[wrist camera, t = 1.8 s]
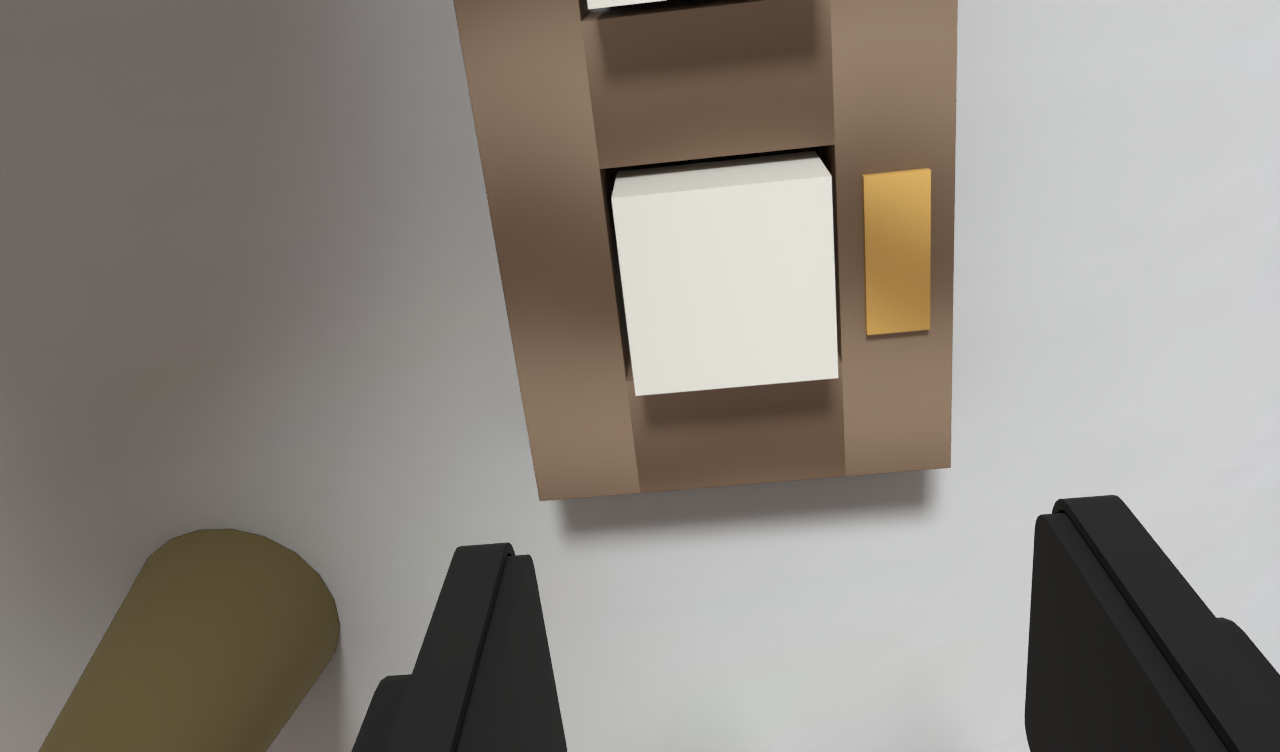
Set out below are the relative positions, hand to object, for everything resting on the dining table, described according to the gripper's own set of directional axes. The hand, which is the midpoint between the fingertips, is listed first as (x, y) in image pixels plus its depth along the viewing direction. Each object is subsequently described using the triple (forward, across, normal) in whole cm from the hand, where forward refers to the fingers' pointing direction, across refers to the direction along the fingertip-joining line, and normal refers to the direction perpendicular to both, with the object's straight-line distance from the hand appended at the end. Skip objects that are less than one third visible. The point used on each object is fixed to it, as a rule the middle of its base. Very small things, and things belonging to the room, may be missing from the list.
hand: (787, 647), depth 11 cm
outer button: (+14, 0, 0) cm, 14 cm away
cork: (+16, +15, +10) cm, 24 cm away
